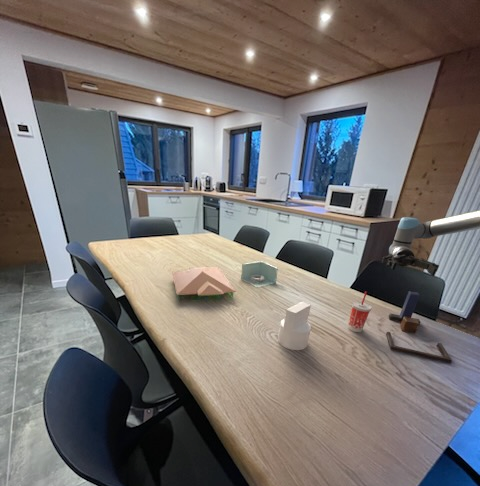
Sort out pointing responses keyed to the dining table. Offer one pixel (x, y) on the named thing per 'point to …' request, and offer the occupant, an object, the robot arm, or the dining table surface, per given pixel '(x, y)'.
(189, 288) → the house
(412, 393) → the dining table surface
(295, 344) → the base with upright slab
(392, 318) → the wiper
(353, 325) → the beverage cup
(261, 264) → the right angle wall
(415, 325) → the orange brown cube
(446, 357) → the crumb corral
